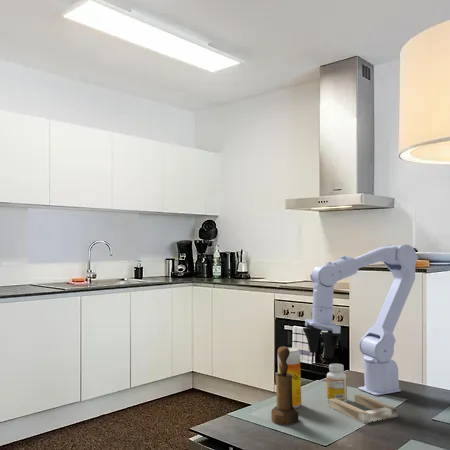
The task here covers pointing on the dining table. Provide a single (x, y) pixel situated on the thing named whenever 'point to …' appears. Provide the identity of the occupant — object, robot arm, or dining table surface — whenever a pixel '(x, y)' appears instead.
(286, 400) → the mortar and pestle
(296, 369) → the beer can
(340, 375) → the supplement bottle
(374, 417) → the slide channel
